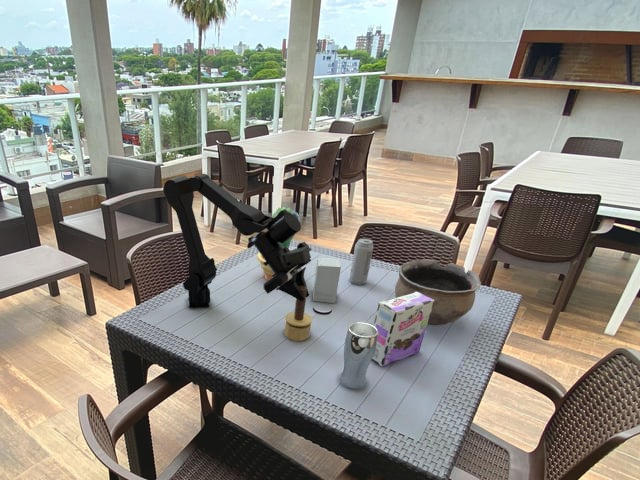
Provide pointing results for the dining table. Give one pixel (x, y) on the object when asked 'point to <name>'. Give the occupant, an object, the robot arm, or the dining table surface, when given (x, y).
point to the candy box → (401, 327)
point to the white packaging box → (326, 280)
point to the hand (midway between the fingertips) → (305, 298)
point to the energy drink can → (361, 261)
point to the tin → (297, 332)
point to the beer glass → (358, 354)
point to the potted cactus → (267, 269)
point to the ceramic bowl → (439, 288)
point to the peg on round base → (299, 312)
